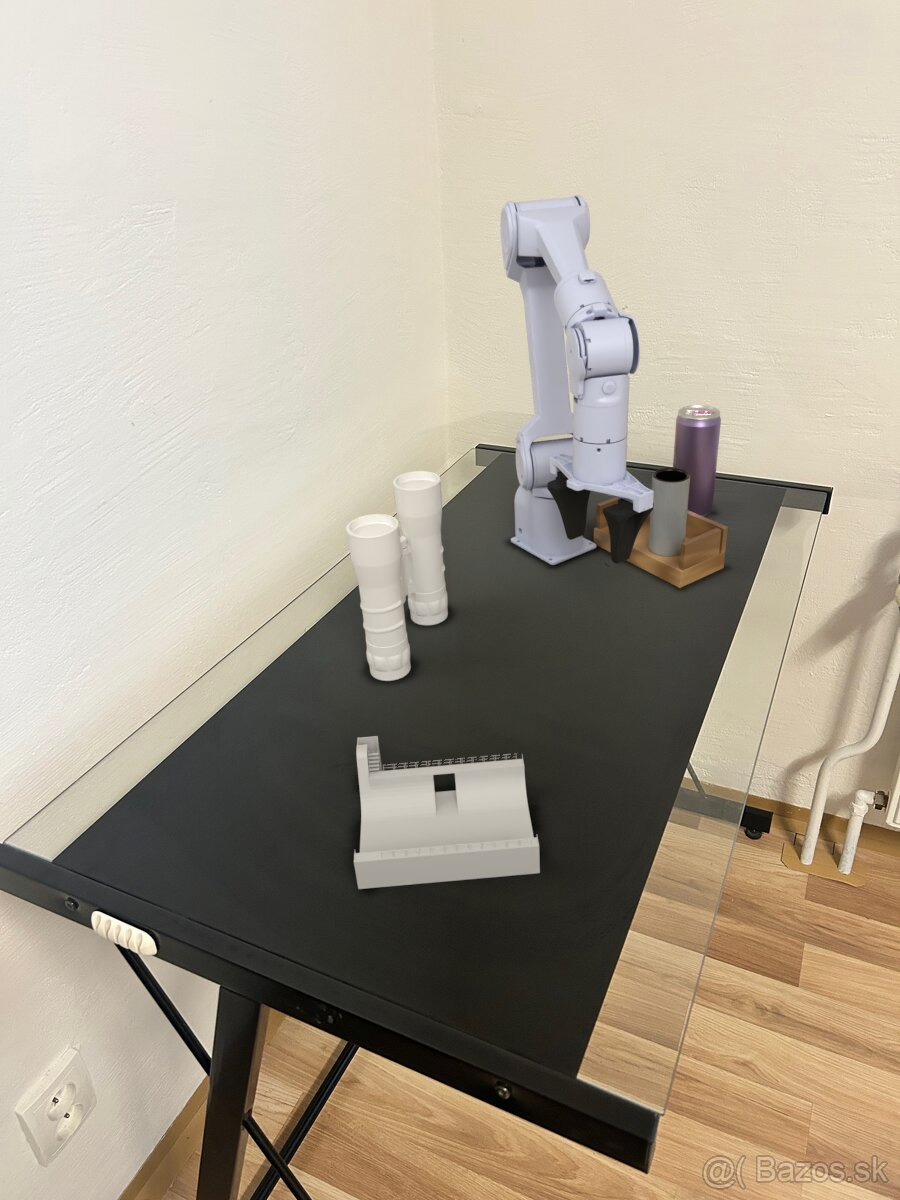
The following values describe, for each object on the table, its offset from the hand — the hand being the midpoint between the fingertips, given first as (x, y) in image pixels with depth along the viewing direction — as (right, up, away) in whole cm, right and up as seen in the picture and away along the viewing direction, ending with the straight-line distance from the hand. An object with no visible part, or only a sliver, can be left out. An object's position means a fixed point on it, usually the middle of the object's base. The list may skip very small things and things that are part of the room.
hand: (597, 548), depth 101 cm
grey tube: (+11, +1, +14) cm, 18 cm away
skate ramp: (-17, -26, -22) cm, 38 cm away
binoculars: (-22, -11, +3) cm, 24 cm away
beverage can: (+18, +7, +28) cm, 34 cm away
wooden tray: (+11, 0, +17) cm, 20 cm away
